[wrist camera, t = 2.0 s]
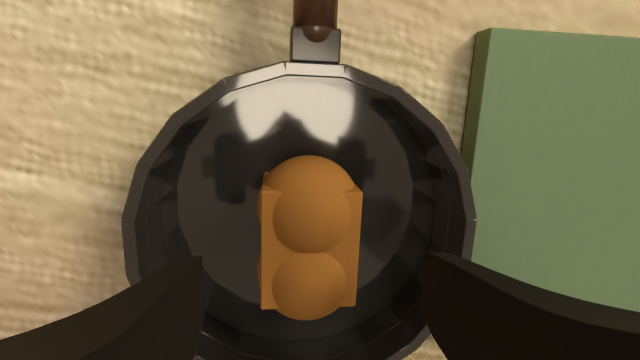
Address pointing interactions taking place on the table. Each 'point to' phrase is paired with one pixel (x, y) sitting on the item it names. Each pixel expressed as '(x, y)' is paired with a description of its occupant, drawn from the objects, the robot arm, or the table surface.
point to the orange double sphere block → (308, 238)
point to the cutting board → (557, 161)
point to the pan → (242, 218)
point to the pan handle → (315, 32)
